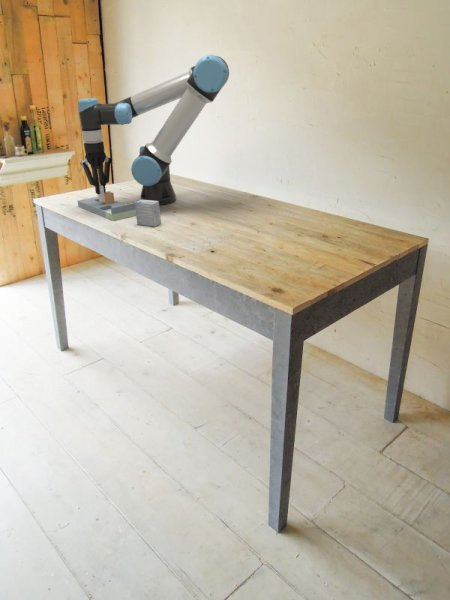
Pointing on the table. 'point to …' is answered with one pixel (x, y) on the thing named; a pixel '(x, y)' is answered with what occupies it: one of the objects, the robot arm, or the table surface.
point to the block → (109, 198)
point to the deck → (108, 208)
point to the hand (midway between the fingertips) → (102, 201)
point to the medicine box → (147, 212)
